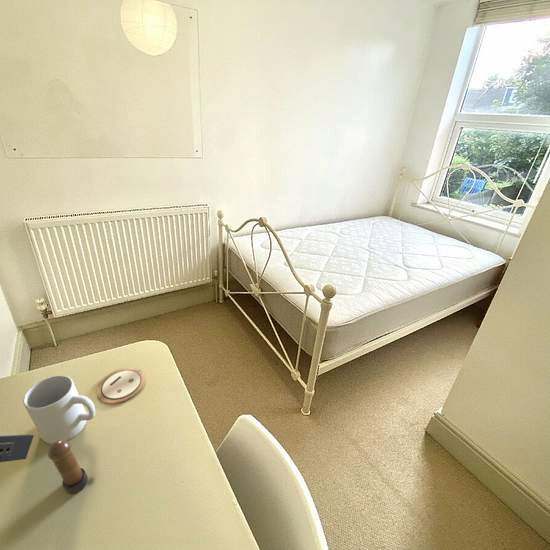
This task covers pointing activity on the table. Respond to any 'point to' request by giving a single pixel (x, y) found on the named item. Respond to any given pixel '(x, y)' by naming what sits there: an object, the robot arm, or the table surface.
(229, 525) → the table surface
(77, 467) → the stamp
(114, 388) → the face mat
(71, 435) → the mug
